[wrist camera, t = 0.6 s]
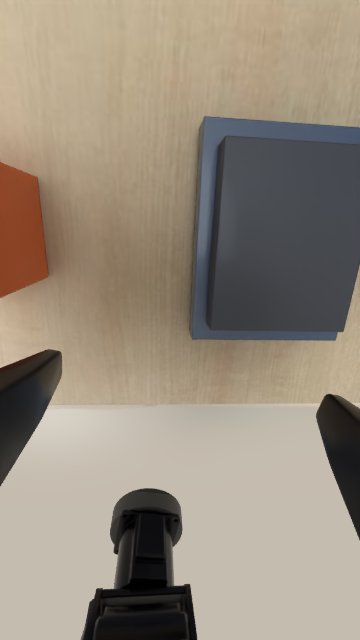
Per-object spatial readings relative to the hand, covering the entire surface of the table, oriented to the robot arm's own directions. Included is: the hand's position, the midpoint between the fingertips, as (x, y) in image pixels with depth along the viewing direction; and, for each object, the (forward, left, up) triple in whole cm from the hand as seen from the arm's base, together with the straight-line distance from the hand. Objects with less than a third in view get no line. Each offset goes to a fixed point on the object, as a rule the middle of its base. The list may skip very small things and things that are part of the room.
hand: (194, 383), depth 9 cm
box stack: (+5, -7, -14) cm, 16 cm away
